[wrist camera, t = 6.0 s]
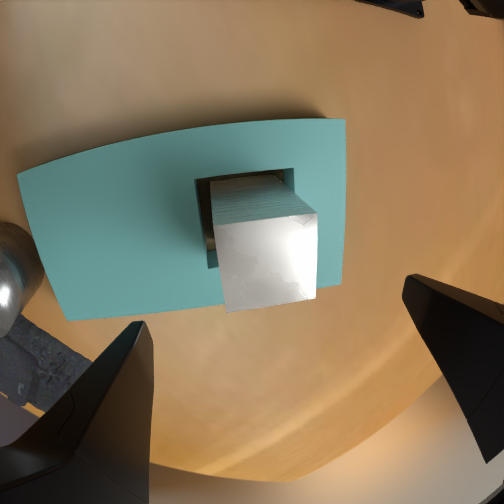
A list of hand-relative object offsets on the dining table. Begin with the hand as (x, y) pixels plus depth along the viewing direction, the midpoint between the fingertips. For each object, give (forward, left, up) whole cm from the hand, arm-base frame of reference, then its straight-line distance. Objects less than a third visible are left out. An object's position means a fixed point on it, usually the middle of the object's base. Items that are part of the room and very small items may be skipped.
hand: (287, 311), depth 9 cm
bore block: (+4, 0, -11) cm, 12 cm away
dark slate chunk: (+25, +13, -12) cm, 31 cm away
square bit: (0, 0, -11) cm, 11 cm away
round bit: (+19, +1, -11) cm, 22 cm away
